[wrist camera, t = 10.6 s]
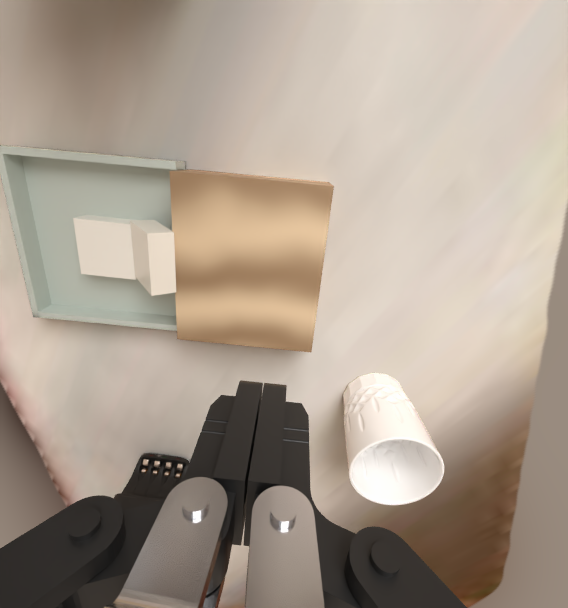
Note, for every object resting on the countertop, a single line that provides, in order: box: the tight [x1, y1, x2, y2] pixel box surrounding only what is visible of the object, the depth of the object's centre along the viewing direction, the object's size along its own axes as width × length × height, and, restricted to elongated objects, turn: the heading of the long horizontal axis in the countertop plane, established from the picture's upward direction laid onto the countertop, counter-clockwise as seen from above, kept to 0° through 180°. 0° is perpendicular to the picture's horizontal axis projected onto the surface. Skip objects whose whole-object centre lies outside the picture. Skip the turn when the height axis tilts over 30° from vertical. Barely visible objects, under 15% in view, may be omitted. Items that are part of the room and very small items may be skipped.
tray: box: [0, 145, 186, 331], centre depth 31 cm, size 15×15×2 cm
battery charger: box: [114, 454, 189, 510], centre depth 38 cm, size 7×4×11 cm, turn 83°
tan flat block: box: [169, 170, 334, 352], centre depth 29 cm, size 14×12×5 cm
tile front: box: [130, 220, 176, 296], centre depth 28 cm, size 5×5×2 cm
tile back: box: [73, 215, 137, 280], centre depth 30 cm, size 5×5×2 cm
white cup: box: [343, 373, 444, 505], centre depth 33 cm, size 8×8×10 cm
